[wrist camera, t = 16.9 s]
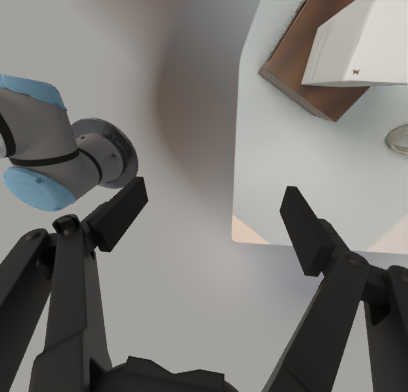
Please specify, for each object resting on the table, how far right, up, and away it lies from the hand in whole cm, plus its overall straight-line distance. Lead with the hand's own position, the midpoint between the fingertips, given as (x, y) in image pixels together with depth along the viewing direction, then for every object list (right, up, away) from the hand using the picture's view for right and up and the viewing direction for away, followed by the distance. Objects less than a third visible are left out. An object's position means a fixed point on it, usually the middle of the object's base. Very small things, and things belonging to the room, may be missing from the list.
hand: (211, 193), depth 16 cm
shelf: (+21, +27, +19) cm, 39 cm away
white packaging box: (+19, +21, +11) cm, 31 cm away
